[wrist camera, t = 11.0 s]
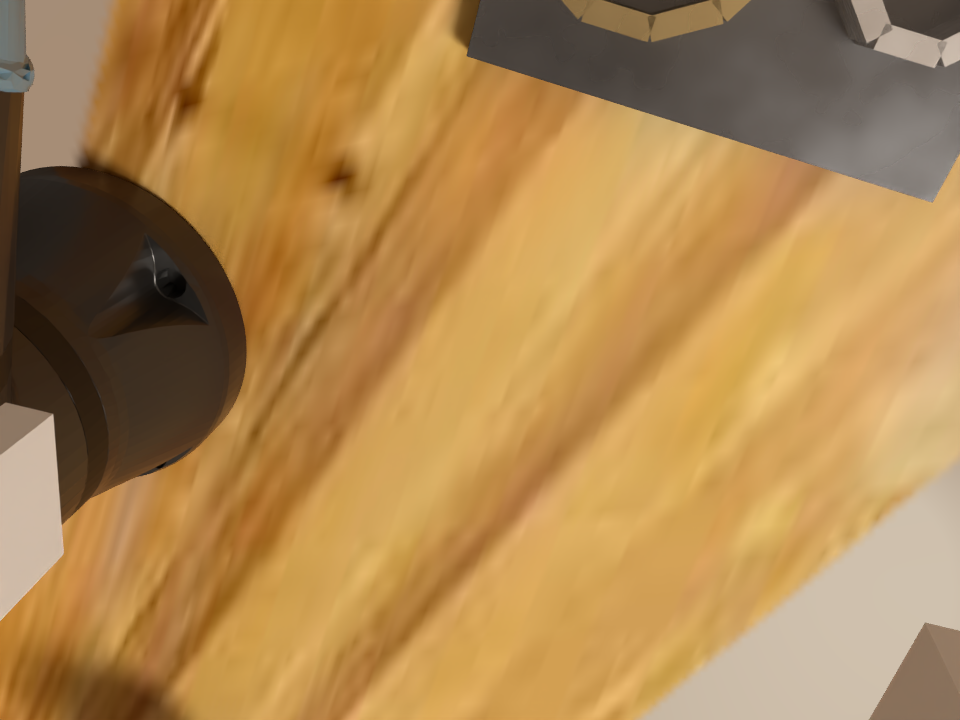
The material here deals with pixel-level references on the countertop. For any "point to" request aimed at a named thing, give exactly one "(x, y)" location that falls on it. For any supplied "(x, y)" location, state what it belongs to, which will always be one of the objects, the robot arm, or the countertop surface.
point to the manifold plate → (760, 73)
